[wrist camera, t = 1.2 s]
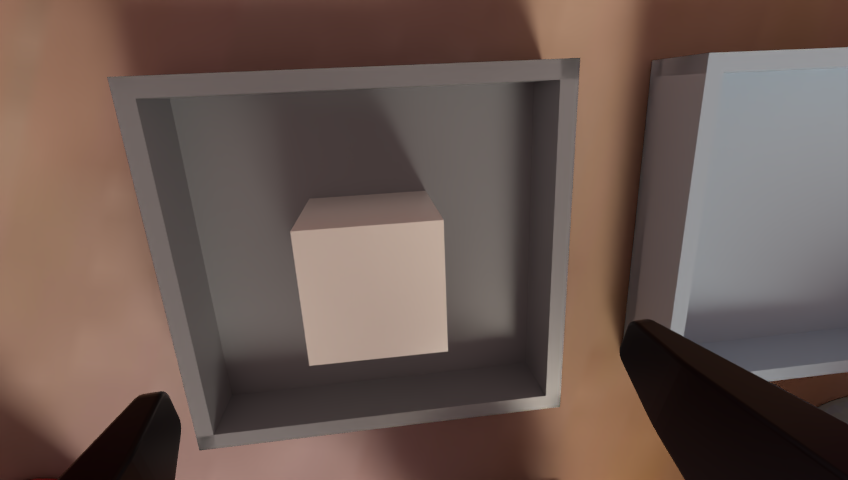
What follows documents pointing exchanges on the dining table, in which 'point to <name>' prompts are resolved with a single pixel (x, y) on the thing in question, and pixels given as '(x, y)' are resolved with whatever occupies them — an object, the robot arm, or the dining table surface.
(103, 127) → the dining table surface
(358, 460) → the dining table surface
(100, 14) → the dining table surface
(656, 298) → the bin
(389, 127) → the bin
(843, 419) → the grey cylinder
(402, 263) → the smooth beige block
